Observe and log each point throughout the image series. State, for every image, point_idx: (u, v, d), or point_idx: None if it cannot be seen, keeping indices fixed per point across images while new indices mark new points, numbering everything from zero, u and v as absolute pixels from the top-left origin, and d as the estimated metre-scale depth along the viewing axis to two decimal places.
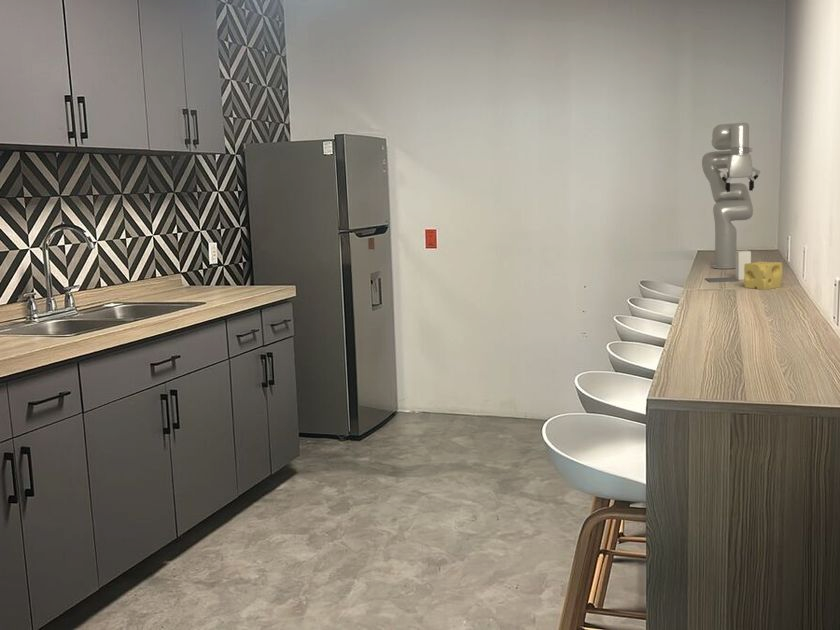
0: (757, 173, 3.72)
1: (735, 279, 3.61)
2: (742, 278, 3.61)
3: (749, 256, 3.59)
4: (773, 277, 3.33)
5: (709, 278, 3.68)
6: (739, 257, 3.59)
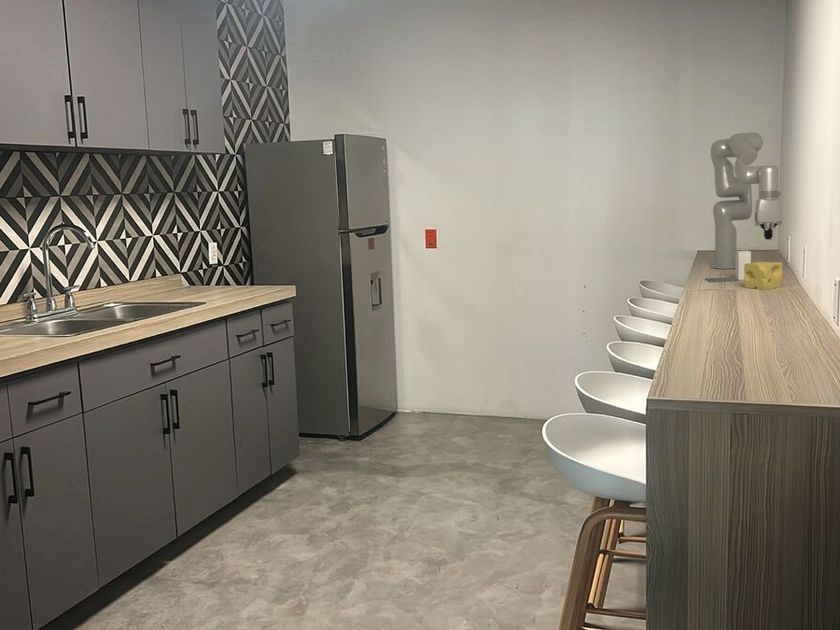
0: (778, 223, 3.57)
1: (735, 279, 3.61)
2: (742, 278, 3.61)
3: (749, 256, 3.59)
4: (773, 277, 3.33)
5: (709, 278, 3.68)
6: (739, 257, 3.59)
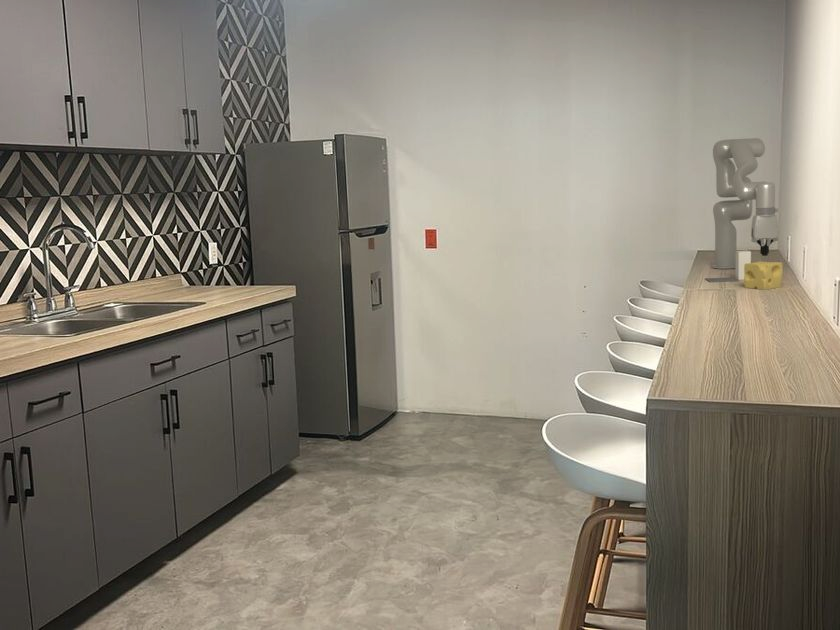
0: (774, 239, 3.58)
1: (735, 279, 3.61)
2: (742, 278, 3.61)
3: (749, 256, 3.59)
4: (773, 277, 3.33)
5: (709, 278, 3.68)
6: (739, 257, 3.59)
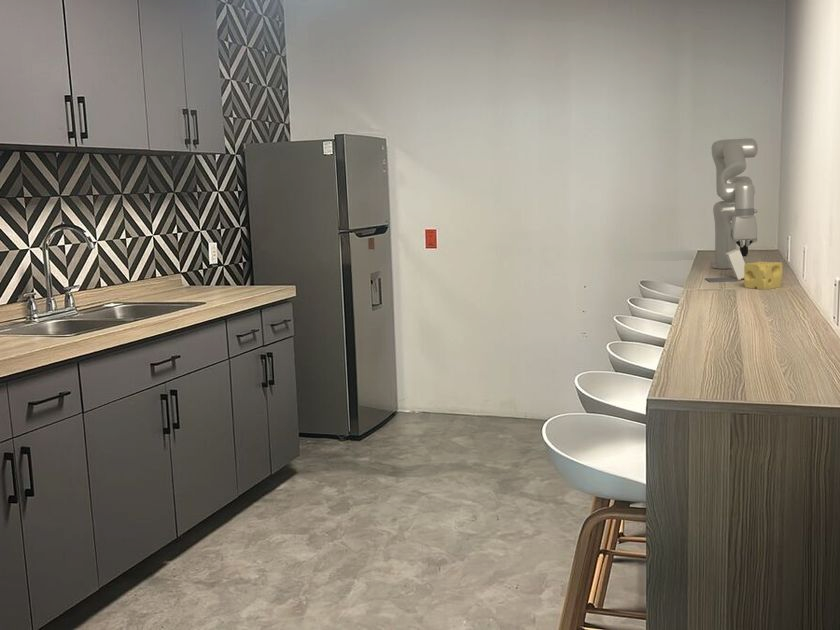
0: (753, 240, 3.59)
1: (735, 279, 3.61)
2: (741, 277, 3.60)
3: (740, 254, 3.59)
4: (773, 277, 3.33)
5: (709, 278, 3.68)
6: (731, 259, 3.60)
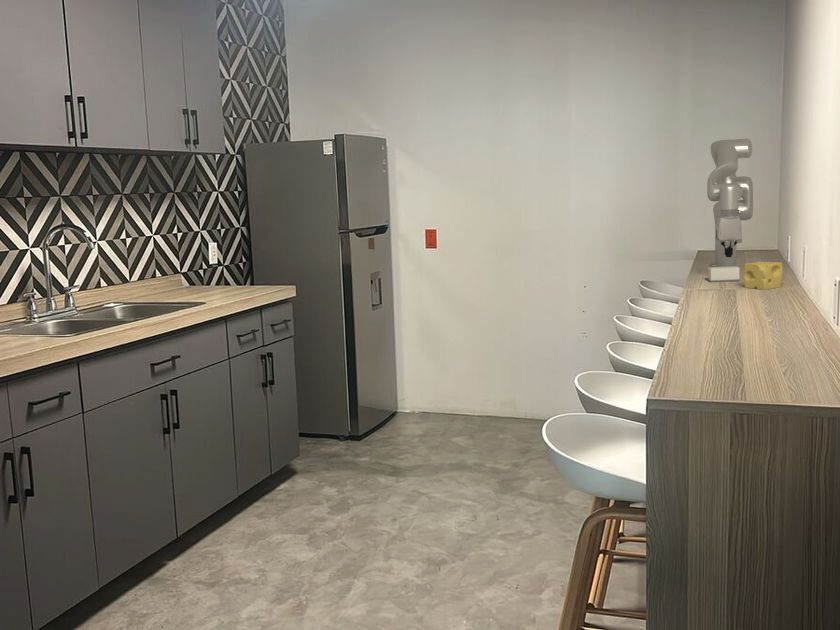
0: (738, 241, 3.60)
1: (735, 279, 3.61)
2: (738, 275, 3.60)
3: (715, 269, 3.61)
4: (773, 277, 3.33)
5: None
6: (716, 279, 3.62)
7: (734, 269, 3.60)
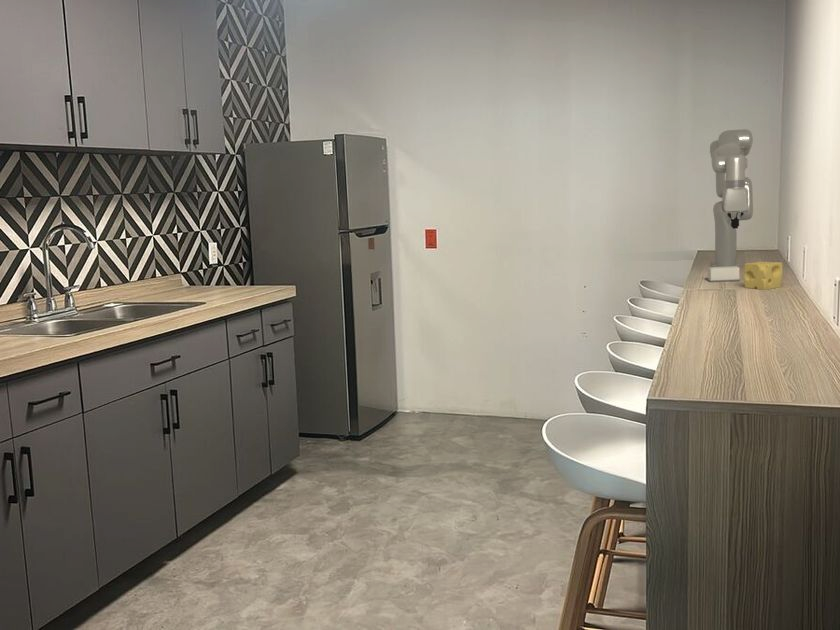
0: (744, 212, 3.60)
1: (735, 279, 3.61)
2: (738, 275, 3.60)
3: (715, 269, 3.61)
4: (773, 277, 3.33)
5: None
6: (716, 279, 3.62)
7: (734, 269, 3.60)
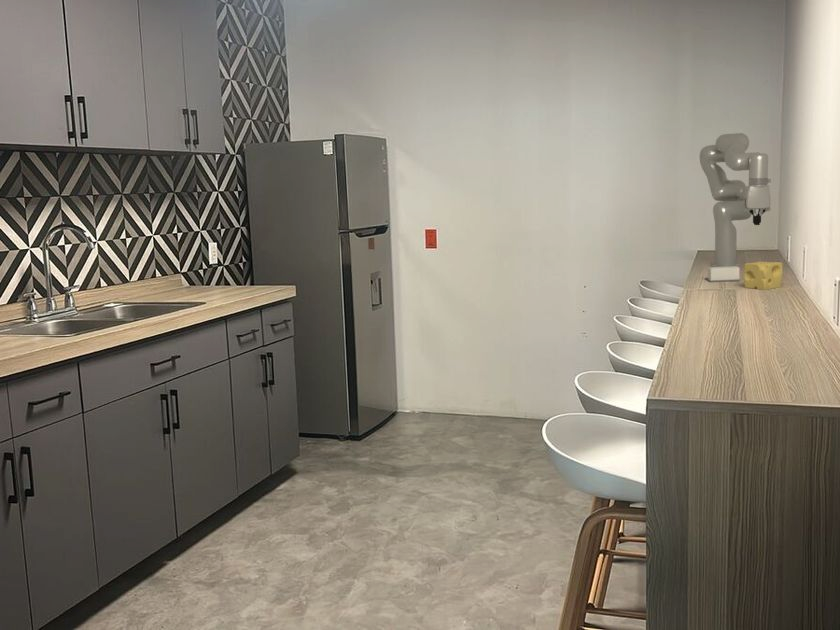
0: (766, 209, 3.68)
1: (735, 279, 3.61)
2: (738, 275, 3.60)
3: (715, 269, 3.61)
4: (773, 277, 3.33)
5: None
6: (716, 279, 3.62)
7: (734, 269, 3.60)
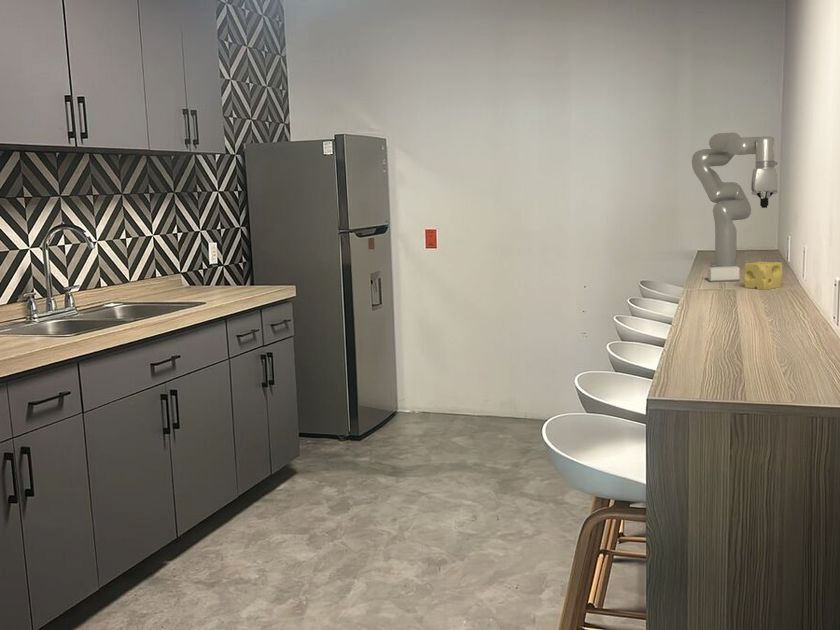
0: (773, 192, 3.70)
1: (735, 279, 3.61)
2: (738, 275, 3.60)
3: (715, 269, 3.61)
4: (773, 277, 3.33)
5: None
6: (716, 279, 3.62)
7: (734, 269, 3.60)
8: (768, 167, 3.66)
